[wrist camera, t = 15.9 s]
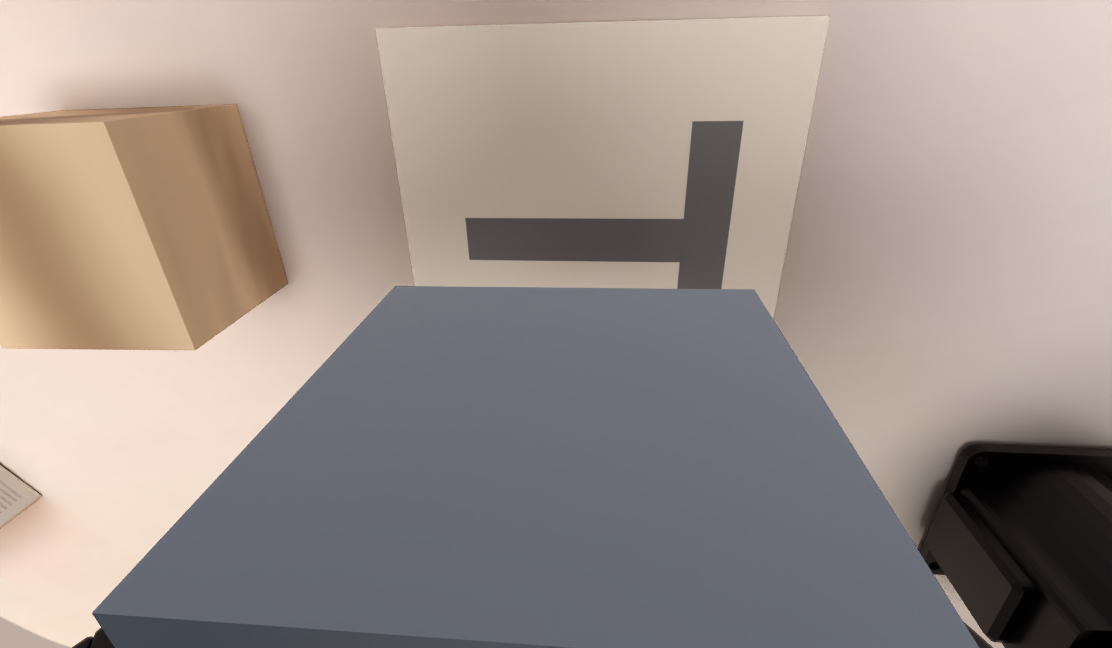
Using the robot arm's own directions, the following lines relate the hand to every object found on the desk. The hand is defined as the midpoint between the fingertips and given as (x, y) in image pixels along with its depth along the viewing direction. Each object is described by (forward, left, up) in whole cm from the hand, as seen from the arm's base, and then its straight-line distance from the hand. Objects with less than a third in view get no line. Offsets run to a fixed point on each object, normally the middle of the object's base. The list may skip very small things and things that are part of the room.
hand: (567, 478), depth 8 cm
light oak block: (+14, -1, -11) cm, 18 cm away
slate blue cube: (0, 0, -1) cm, 1 cm away
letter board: (0, 0, -11) cm, 11 cm away
